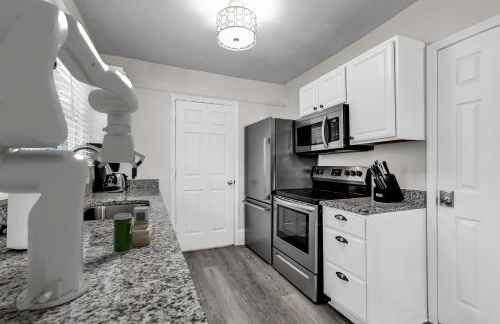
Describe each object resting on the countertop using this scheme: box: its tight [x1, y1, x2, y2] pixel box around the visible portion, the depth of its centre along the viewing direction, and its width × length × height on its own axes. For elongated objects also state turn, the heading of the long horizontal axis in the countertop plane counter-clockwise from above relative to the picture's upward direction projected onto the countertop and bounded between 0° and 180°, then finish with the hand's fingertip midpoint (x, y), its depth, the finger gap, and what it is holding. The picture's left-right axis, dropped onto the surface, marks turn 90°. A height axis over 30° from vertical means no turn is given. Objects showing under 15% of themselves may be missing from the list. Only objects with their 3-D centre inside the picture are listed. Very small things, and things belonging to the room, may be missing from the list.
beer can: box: [112, 212, 133, 255], centre depth 78 cm, size 5×5×12 cm
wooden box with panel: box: [132, 205, 156, 248], centre depth 91 cm, size 16×9×11 cm, turn 16°
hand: (118, 179), depth 86 cm, fingers open, 9 cm apart
